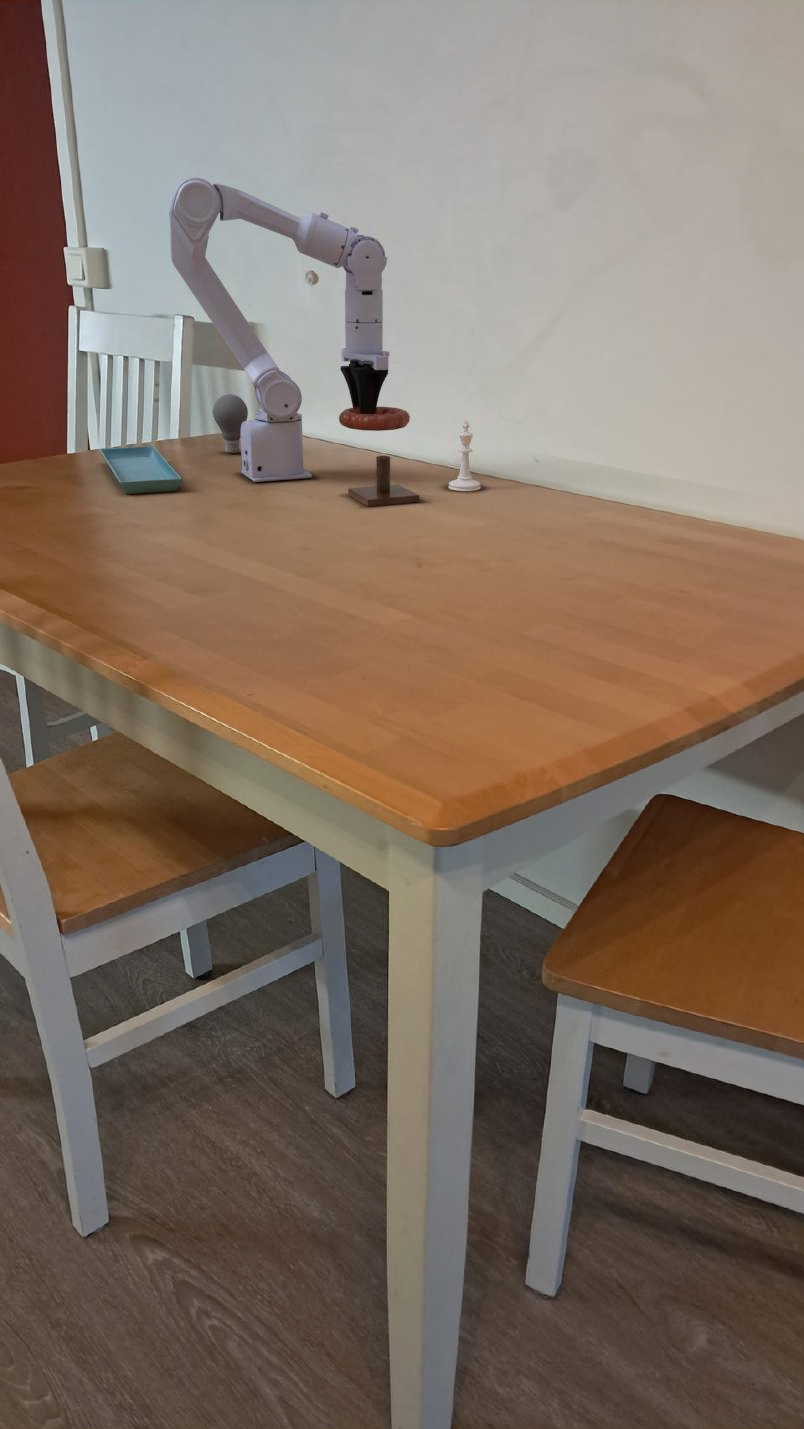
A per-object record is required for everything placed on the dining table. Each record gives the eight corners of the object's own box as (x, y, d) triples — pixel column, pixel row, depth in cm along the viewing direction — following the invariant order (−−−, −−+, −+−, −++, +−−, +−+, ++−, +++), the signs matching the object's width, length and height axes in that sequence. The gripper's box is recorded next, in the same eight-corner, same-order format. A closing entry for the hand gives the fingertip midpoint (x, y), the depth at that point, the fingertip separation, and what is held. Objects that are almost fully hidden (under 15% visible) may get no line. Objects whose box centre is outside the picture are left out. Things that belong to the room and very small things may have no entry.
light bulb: (221, 449, 190) (217, 391, 186) (253, 450, 190) (250, 392, 186) (211, 455, 185) (207, 396, 181) (244, 456, 184) (241, 397, 180)
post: (367, 506, 150) (367, 463, 148) (347, 495, 157) (347, 453, 155) (419, 502, 153) (420, 459, 151) (397, 490, 160) (398, 450, 158)
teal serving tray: (183, 492, 158) (182, 475, 157) (121, 496, 155) (119, 479, 154) (155, 460, 180) (154, 445, 179) (100, 463, 177) (98, 448, 176)
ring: (354, 433, 159) (354, 416, 158) (329, 423, 168) (329, 407, 167) (420, 429, 163) (420, 413, 162) (392, 419, 172) (392, 404, 171)
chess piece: (443, 489, 161) (445, 421, 157) (453, 483, 165) (455, 417, 161) (475, 492, 159) (477, 423, 155) (484, 486, 164) (487, 419, 160)
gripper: (407, 324, 158) (406, 418, 164) (370, 318, 170) (370, 405, 176) (363, 325, 156) (363, 420, 161) (328, 319, 168) (330, 408, 173)
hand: (364, 413), depth 168 cm, fingers closed on ring, 2 cm apart
